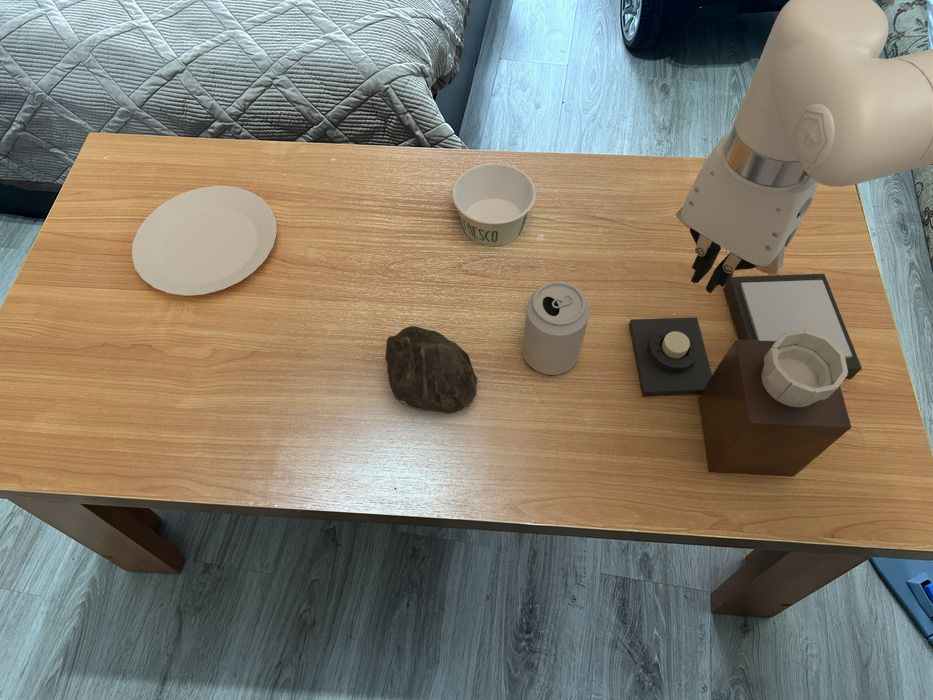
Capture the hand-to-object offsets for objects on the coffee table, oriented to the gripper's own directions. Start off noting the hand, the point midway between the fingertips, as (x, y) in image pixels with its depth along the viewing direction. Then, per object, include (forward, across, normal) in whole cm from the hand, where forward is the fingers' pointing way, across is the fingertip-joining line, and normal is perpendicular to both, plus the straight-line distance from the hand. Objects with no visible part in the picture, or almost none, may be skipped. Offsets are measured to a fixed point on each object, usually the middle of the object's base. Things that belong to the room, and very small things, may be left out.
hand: (707, 279), depth 71 cm
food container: (+17, +33, -2) cm, 37 cm away
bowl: (+3, -13, +3) cm, 14 cm away
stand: (+17, -13, +3) cm, 22 cm away
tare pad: (+17, 0, 0) cm, 17 cm away
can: (+17, +12, +10) cm, 23 cm away
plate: (+17, +61, +30) cm, 70 cm away
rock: (+17, +20, +24) cm, 36 cm away
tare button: (+15, 0, 0) cm, 15 cm away
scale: (+17, -9, -14) cm, 24 cm away
